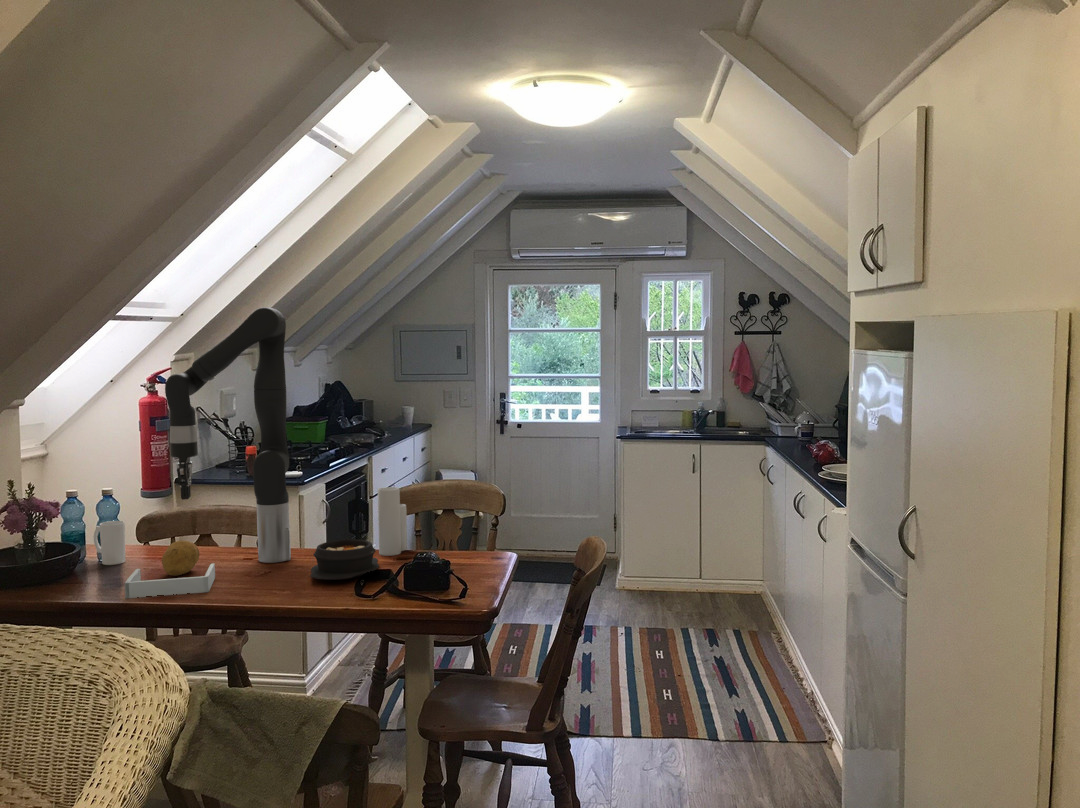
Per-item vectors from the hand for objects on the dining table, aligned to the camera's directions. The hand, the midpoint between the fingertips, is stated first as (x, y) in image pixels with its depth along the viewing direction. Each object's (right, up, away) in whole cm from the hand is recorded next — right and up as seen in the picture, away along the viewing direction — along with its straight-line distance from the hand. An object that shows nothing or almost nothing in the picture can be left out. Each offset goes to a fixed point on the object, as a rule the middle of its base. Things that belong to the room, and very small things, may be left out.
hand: (185, 498), depth 258 cm
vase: (+60, -18, +10) cm, 63 cm away
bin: (+8, -21, -28) cm, 36 cm away
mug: (-24, -20, +1) cm, 31 cm away
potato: (+4, -20, -13) cm, 24 cm away
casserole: (+51, -20, -17) cm, 57 cm away
